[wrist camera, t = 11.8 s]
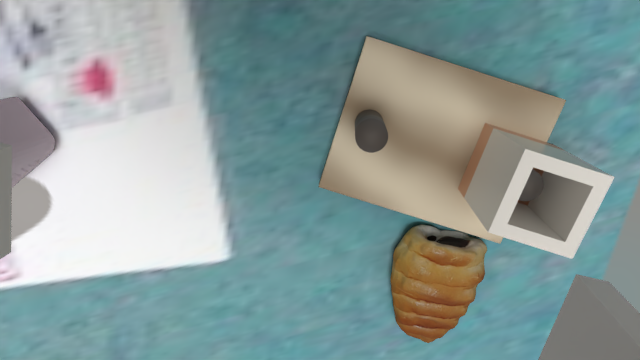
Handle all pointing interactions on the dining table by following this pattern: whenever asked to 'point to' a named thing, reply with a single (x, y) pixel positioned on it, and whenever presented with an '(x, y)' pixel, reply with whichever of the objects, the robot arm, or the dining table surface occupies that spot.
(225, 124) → the dining table surface
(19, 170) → the electronic device
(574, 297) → the robot arm
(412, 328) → the pastry
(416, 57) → the pin board
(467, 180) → the sleeve
